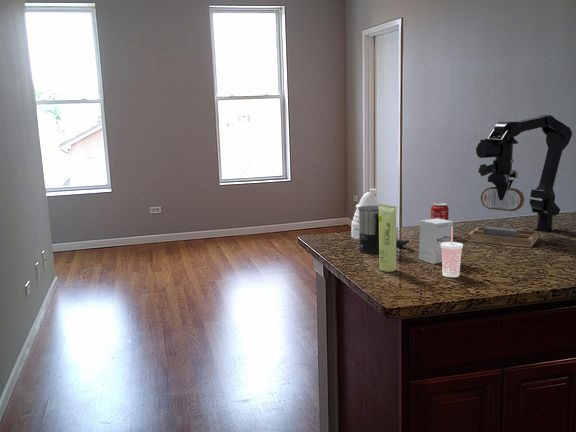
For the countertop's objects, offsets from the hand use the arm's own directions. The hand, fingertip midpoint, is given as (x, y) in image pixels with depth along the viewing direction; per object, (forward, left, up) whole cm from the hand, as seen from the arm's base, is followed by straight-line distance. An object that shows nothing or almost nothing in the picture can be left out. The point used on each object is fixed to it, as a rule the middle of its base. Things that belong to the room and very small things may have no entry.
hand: (501, 199), depth 214 cm
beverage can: (+11, -19, -13) cm, 26 cm away
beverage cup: (+60, 0, -13) cm, 62 cm away
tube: (+63, -18, -13) cm, 67 cm away
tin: (+1, 0, -4) cm, 4 cm away
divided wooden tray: (+8, +3, -13) cm, 16 cm away
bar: (+12, +3, -13) cm, 17 cm away
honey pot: (+23, -42, -13) cm, 50 cm away
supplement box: (+46, -9, -13) cm, 49 cm away
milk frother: (+40, -29, -13) cm, 52 cm away
